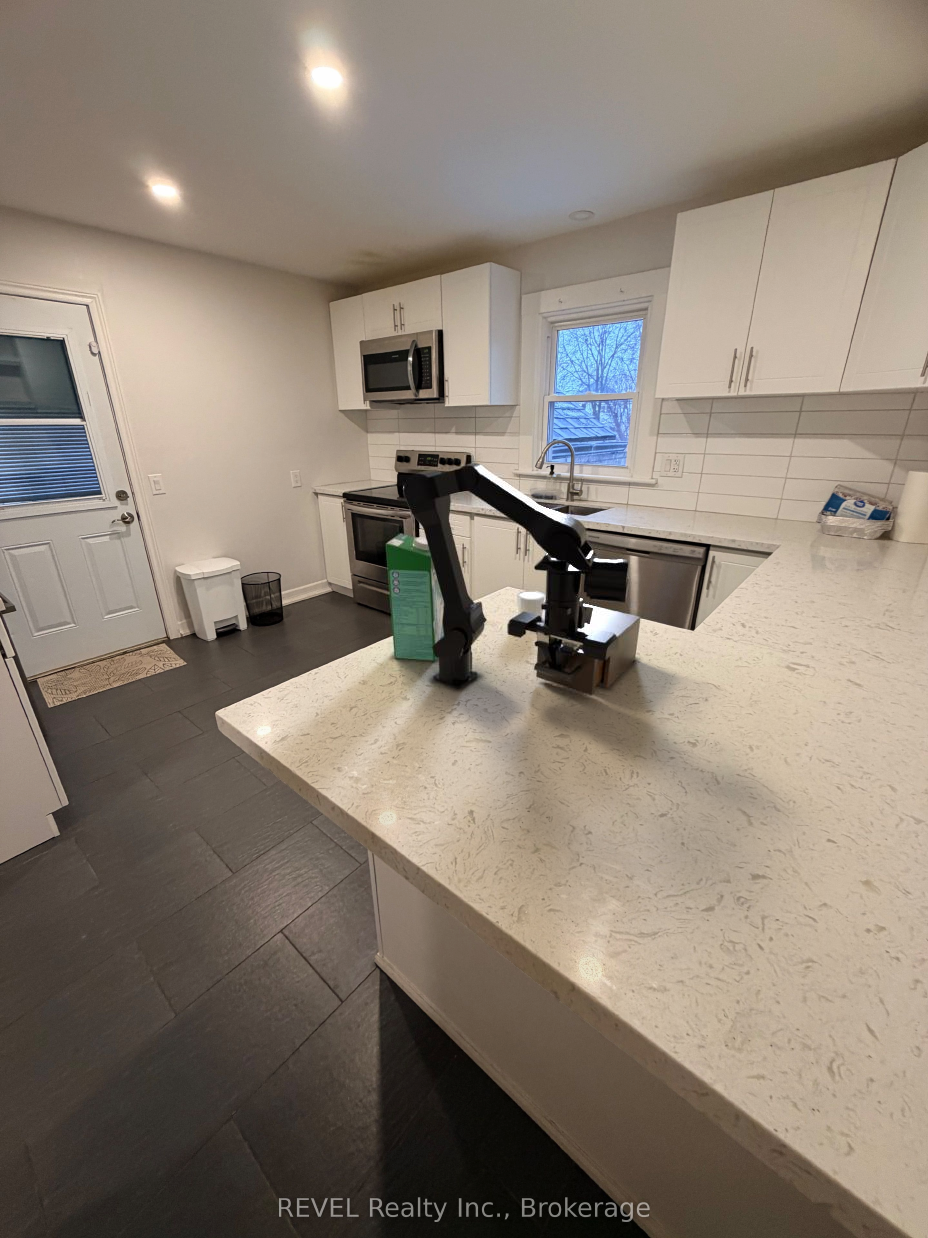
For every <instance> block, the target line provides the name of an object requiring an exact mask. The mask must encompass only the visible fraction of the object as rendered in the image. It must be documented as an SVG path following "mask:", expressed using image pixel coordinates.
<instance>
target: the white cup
mask: <svg viewBox="0 0 928 1238" xmlns="http://www.w3.org/2000/svg"><path fill="white" fill-rule="evenodd" d="M515 596H516V608H517V609H516V610H517V615H519V614H520V613H522V612H528V613H532V614H536V615H540V617H541V618H542V619H543V612H544V610H543V609H541V604H542V603H543V602H545V596H546V594H545V593H544V592H541V591H537V590H522V591H519V592H517V593H516V595H515Z"/></svg>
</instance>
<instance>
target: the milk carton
mask: <svg viewBox="0 0 928 1238" xmlns="http://www.w3.org/2000/svg"><path fill="white" fill-rule="evenodd" d="M385 553H386V568H387V580H388V592H389V605H390V616H391V617H390V619H391V630H392V642H393V643H392V644H393V645H392V646H393V655H394V656H393V657H394V658H396V659H407V660H421V661H422V660H423V661H430V662H431V661H436V660H437V658H438V657H435V655H434V652H433V649H432V646H433V645H434V644H435V643H436V642H437V641H438V640H439V639H440V638H441V637H442V636H443V635H444V634H443V625H442V618H443V609H444V602H443V598H442V594H441V591H440V587H439V583H438V580H437V576H436V572H435V569H434V565H433V562H432V558H431V554H430V551H429V547H428V543H427V540H426V537H415V536H412V535H407V534H404V533H399V534H397V535H396V536H395V537H393V538H392V539H390V540H389V541H388V542H386V543H385Z"/></svg>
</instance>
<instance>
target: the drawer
mask: <svg viewBox="0 0 928 1238" xmlns="http://www.w3.org/2000/svg"><path fill="white" fill-rule="evenodd" d="M561 645H562V644H561ZM536 653H537V654H536V662H535V663H534V666H533V670H534V671H536V673H535V674H536V678H537V679H540V680H544V681H547V682H550V683H553V684H556V685H559V686H562V687H565V688H568V689H571V690H574V691H576V692H580V693H582V694H585V695H589V696H593V695H594V694H595V690H596V686H598V685H597V684H598V683H599V682H600V681H601V680H602V679H603V678H604V673H605V663H606V660H597V659H594V658H590V657H587V656H585V654H584V653H583V652H582V648H581V649H580V650H579V651H577V652H576V653H575V654H574V655H572V656H571V657H570V659H569V661H568V663H567V666H566V668H565V670H564V671H562V670H559V669H556V668H553V667H550V666H549V664H548V662H547V660H546V659H545V657H544V655H543V654H542V652H541V650H540V649H539V647H537V652H536ZM555 677H558V678H559V679H558V678H555Z"/></svg>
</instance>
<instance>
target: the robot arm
mask: <svg viewBox="0 0 928 1238" xmlns="http://www.w3.org/2000/svg"><path fill="white" fill-rule="evenodd" d="M402 486H403V488H402V491H403V496H404V499H405V501H406V503H407V506H408V508H409V510H410V512H411V515H413V517H414V518H415V519H416V521H417V523H419V524H420V526H421V527H422V529H423V532H424V536H425V539H426V540H427V543H428V547H429V551H430V554H431V558H432V562H433V565H434V569H435V572H436V576H437V580H438V583H439V587H440V591H441V594H442V598H443V602H444V609H443V618H442V625H443V634H444V635H443V636H442V637H441V638H440V639H439V640H438V641H437V642H436V643H435V644H434V645H433V646H432V649H433V652H434V655H435V657H437V658H438V673H436V674H435V675H433V677H432V678H433V680H434V681H437V682H439V683H442V684H444V685H447V686H449V687H452V688H455V689H461V688H462V687H464V686H465V685H467V684H468V683H470V682H472V681H473V680H475V678H477V677H478V676H479V673H478V672H476V671H473V651H472V646H473V645H474V643H475V642H476V641H477V640H478V639H479V637H480V636H481V635H482V634H483V632H484V630H485V623H486V622H487V621H488V620H487V618H486V616H485V614H484V610H483V604H482V603H483V602H482V601H477V602H474V600H473V599H472V598H471V596H470V595H469V592H468V589H467V585H466V582H465V576H464V573H463V570H462V565H461V562H460V561H461V560H460V557H459V554H458V550H457V547H456V543H455V538H454V534H453V531H452V526H451V523H450V513H451V503H452V500H451V499H452V498H451V495H453V494H457V493H460V492H461V493H462V492H465V491H467V492H469V493H471V494H472V495H473V496H475V497H477V498H478V499H479V500H481V501H483V502H484V503H485V504H487V505H488V506H490V507H492V508H493V509H494V510H496V511H498V512H499V513H500V514H502V515H504V516H505V517H506V518H508V519H509V520H510V521H513V522H514V523H515V524H517V525H519V526H520V527H522V528H523V529H524V530H525V531H526V532H527V533H528V534H529V535H530V536H531V537H532V539H533V540H534V541H535V543H536V544H537V545H538V547H540V548H541V549H542V550H543V551H544V552H545V554H544V555H543V557H542V558H541V559H540V560H538V562H536V564H535V565H533V566H534V567H533V569H534V570H535V571H541V572H545V573H546V574H545V575H546V576H545V577H546V578H545V598H544V602H543V603H542V604H541V609H543V611H544V621H543V617H542V618H541V617H540V615H536V614H532V613H528V612H522V613H520V614H519V615H518V614H516V615H515V616H514V617H512V618H510V619H509V620H508V622H507V625H506V628H507V629H506V633H507V636H508V635H509V636H511V637H514V638H515V637H516V638H519V639H521V638H522V637H524V636H525V635H526V634H527V631H528V632H532V633H535V635H536V640H535V642H534V646H535V647H536V648H538V647H539V649H540V650H541V652H542V654H543V655H544V657H545V659H546V660H547V662H548V664H549V666H550V667H553V668H556V669H559V670H562V671H564V670H565V668H566V666H567V663H568V661H569V659H570V657H571V656H572V655H574V654H575V653H576V652H577V651H579V650H580V649H581V648H582V652H583V653H584V654H585V656H587V657H590V658H594V659H597V660H606V659H607V658H608V657H609V656H610V655H611V654H613V653H614V652H615V651H616V650H617V649H618V641H619V640H618V638H617V636H616V634H615V633H610V632H606V631H602V630H598V629H596V630H594V631H593V632H592V633H591V634H589V635H588V634H585V632H581V631H578V629H582V628H583V627H584V625H585V623H587V624H590V622H591V617H592V613H593V607H589V606H585V605H586V604H585V605H583V604H584V599H583V598H581V592H582V591H581V589H582V575H584V578H583V579H584V580H583V593H584V594H586V595H585V596H586V598H589V600H590V601H591V600H592V601H600V602H601V601H602V602H612V603H621V604H626V603H627V598H628V593H629V592H628V591H629V583H630V575H629V572H630V560H629V559H624V558H623V559H622V558H621V559H620V558H619V559H609V558H608V559H606V558H597V557H598V554H597V552H596V551H595V549H594V548H593V547H592V545H591V544H590V542H589V541H588V539H587V531H586V527H585V525H584V524H583V522H581V521H580V520H578V519H577V518H574V517H572V516H569V515H568V514H566V513H563V512H560V511H557V510H553V509H549V508H546V507H545V506H542V505H540V504H538V502H536V501H534V500H533V499H531V498H530V497H528V496H527V495H525V494H523V493H522V492H520V491H519V490H517V489H516V488H514V487H513V486H512V485H509V484H508V483H507V482H505V481H503V480H502V479H501V478H499V477H497V476H496V475H494V474H493V473H491V472H490V471H488V470H487V469H486V468H485V467H484V466H483V465H482V464H480V463H478V462H473V463H469V464H468V463H467V464H465V465H462V466H461V467H459V468H457V469H453V470H449V471H445V472H441V471H440V470H437V469H428V470H425V471H419V472H416V473H414V474H411V475H409V476H408V477H407V478H406V480H405V483H404V484H403V485H402ZM561 644H562V645H561ZM555 678H558V677H555ZM558 679H559V678H558Z"/></svg>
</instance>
